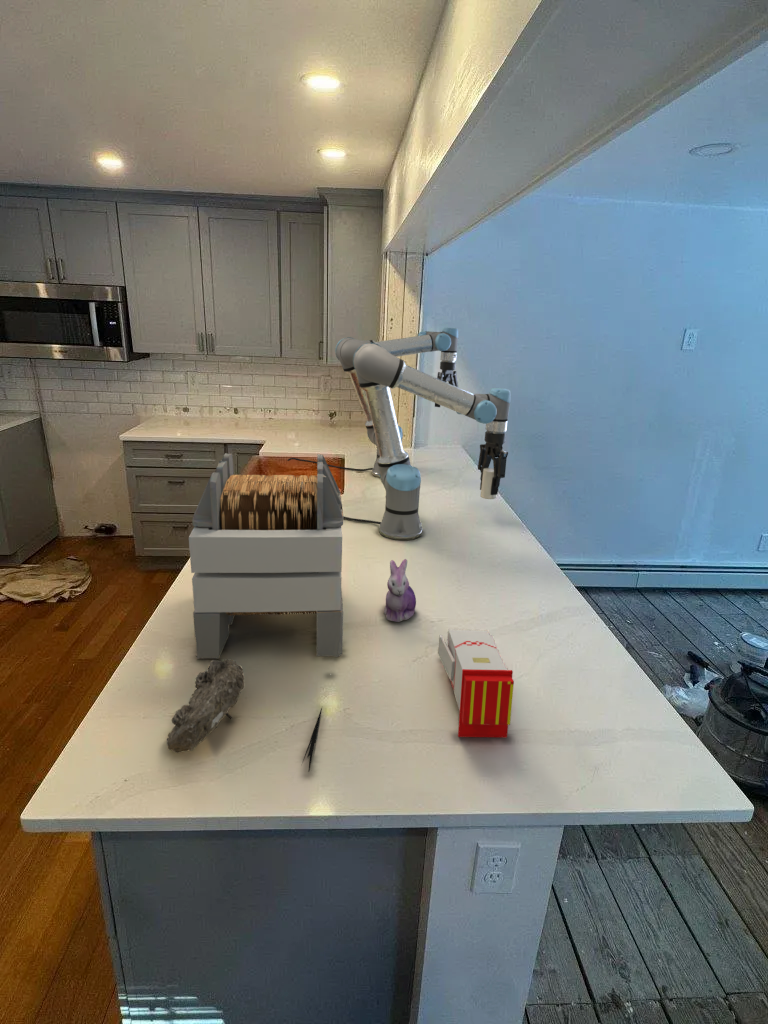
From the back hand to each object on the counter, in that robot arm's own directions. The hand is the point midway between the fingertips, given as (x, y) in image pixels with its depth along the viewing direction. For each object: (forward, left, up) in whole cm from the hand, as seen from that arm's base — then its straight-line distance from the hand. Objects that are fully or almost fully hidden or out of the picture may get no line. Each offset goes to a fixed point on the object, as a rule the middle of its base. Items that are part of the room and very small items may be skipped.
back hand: (444, 405), depth 281 cm
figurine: (+73, -136, -30) cm, 157 cm away
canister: (+55, -55, -22) cm, 81 cm away
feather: (+84, -179, -30) cm, 200 cm away
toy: (+102, -152, -30) cm, 186 cm away
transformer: (+51, -160, -30) cm, 170 cm away
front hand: (+55, -55, -20) cm, 81 cm away
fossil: (+68, -191, -30) cm, 205 cm away
